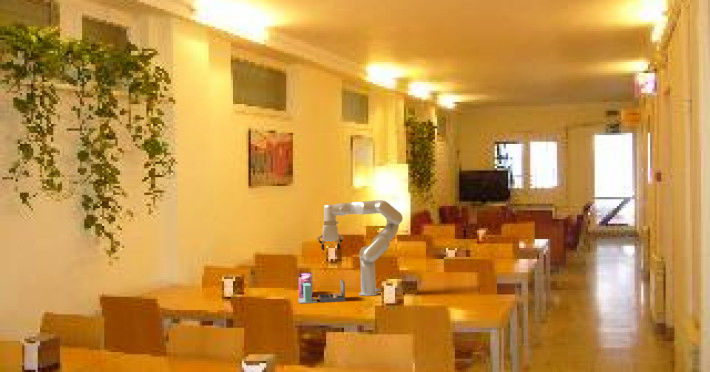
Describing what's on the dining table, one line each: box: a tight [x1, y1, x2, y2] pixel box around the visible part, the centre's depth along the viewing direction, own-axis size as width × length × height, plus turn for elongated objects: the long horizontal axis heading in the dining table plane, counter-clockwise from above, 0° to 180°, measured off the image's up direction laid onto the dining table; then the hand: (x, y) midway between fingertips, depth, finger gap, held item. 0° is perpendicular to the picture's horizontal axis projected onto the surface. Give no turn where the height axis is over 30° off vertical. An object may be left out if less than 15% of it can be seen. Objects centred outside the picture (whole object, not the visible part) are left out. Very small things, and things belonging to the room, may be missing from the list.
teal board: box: [303, 283, 313, 302], centre depth 512 cm, size 4×12×10 cm, turn 8°
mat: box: [297, 297, 318, 305], centre depth 513 cm, size 11×16×1 cm
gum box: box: [298, 272, 314, 299], centre depth 537 cm, size 24×8×14 cm, turn 0°
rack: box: [317, 278, 346, 303], centre depth 515 cm, size 15×15×12 cm
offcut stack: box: [332, 292, 343, 298], centre depth 515 cm, size 4×12×4 cm, turn 14°
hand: (330, 250), depth 526 cm, fingers open, 9 cm apart
